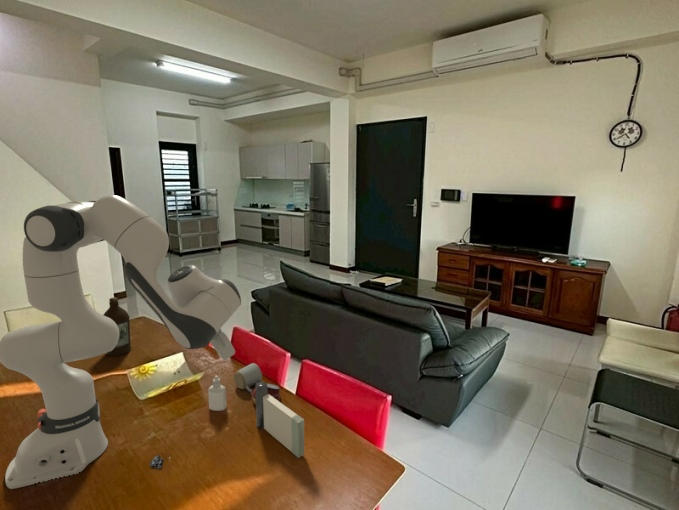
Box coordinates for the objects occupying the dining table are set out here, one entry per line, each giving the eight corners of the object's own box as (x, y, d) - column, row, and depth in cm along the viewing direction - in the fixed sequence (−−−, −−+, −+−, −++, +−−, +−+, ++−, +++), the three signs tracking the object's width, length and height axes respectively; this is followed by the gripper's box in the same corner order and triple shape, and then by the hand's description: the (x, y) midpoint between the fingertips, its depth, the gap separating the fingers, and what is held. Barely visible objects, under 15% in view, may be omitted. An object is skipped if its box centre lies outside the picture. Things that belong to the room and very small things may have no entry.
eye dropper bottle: (217, 414, 122) (215, 381, 119) (207, 408, 125) (205, 376, 122) (228, 408, 125) (226, 375, 123) (218, 402, 128) (216, 370, 126)
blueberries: (167, 451, 106) (167, 445, 106) (177, 465, 100) (176, 458, 100) (142, 463, 101) (141, 457, 101) (150, 478, 96) (149, 472, 95)
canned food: (252, 408, 133) (246, 380, 135) (279, 400, 136) (273, 373, 138) (255, 411, 122) (249, 381, 125) (284, 402, 126) (278, 373, 128)
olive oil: (102, 351, 165) (96, 298, 160) (128, 344, 172) (123, 293, 168) (108, 359, 158) (102, 303, 153) (135, 351, 165) (130, 298, 160)
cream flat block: (263, 428, 114) (262, 396, 112) (269, 425, 116) (268, 393, 113) (298, 458, 102) (298, 422, 100) (304, 454, 104) (304, 419, 101)
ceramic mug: (232, 386, 138) (232, 367, 137) (250, 377, 145) (250, 360, 143) (249, 397, 132) (249, 378, 130) (268, 388, 138) (267, 369, 136)
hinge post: (259, 430, 114) (257, 389, 111) (255, 424, 117) (253, 384, 114) (270, 426, 116) (269, 386, 113) (265, 420, 119) (264, 380, 116)
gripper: (231, 329, 94) (247, 362, 102) (199, 294, 108) (215, 326, 116) (209, 343, 91) (227, 377, 99) (179, 305, 105) (197, 337, 113)
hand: (220, 349), depth 108 cm, fingers closed
